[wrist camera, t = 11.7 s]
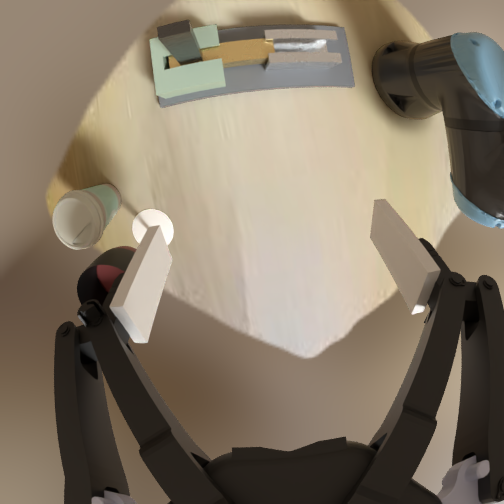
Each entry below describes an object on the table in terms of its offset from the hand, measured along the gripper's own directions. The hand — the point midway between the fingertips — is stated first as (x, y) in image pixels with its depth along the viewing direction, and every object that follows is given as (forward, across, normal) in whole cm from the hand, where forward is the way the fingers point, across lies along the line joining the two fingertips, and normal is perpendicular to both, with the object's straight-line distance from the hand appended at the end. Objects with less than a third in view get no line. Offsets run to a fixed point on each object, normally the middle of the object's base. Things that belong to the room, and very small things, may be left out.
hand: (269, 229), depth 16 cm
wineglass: (+24, -20, -12) cm, 33 cm away
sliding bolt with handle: (+28, -3, +12) cm, 30 cm away
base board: (+30, +1, +12) cm, 33 cm away
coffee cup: (+25, -27, -5) cm, 37 cm away
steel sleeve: (+29, +7, +12) cm, 33 cm away
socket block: (+28, -8, +12) cm, 32 cm away
